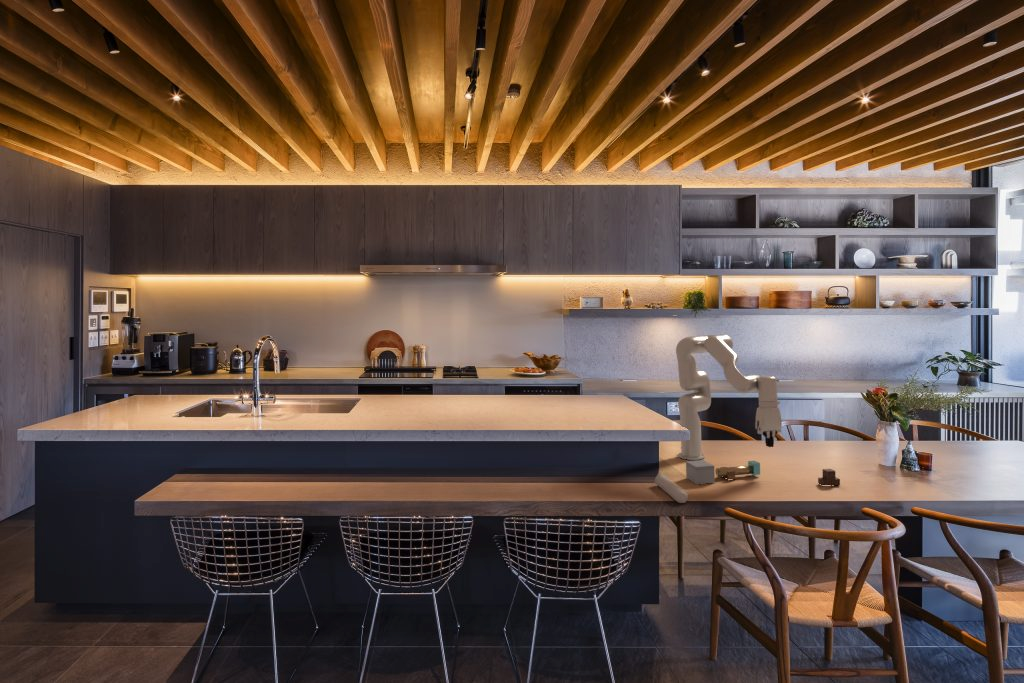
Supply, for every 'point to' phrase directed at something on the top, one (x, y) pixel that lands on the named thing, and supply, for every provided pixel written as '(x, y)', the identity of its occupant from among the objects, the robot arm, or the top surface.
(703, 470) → the socket block
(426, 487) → the top surface
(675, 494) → the tube
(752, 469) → the bronze piece
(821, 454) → the top surface
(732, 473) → the guide block
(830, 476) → the wooden blocks
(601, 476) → the top surface
